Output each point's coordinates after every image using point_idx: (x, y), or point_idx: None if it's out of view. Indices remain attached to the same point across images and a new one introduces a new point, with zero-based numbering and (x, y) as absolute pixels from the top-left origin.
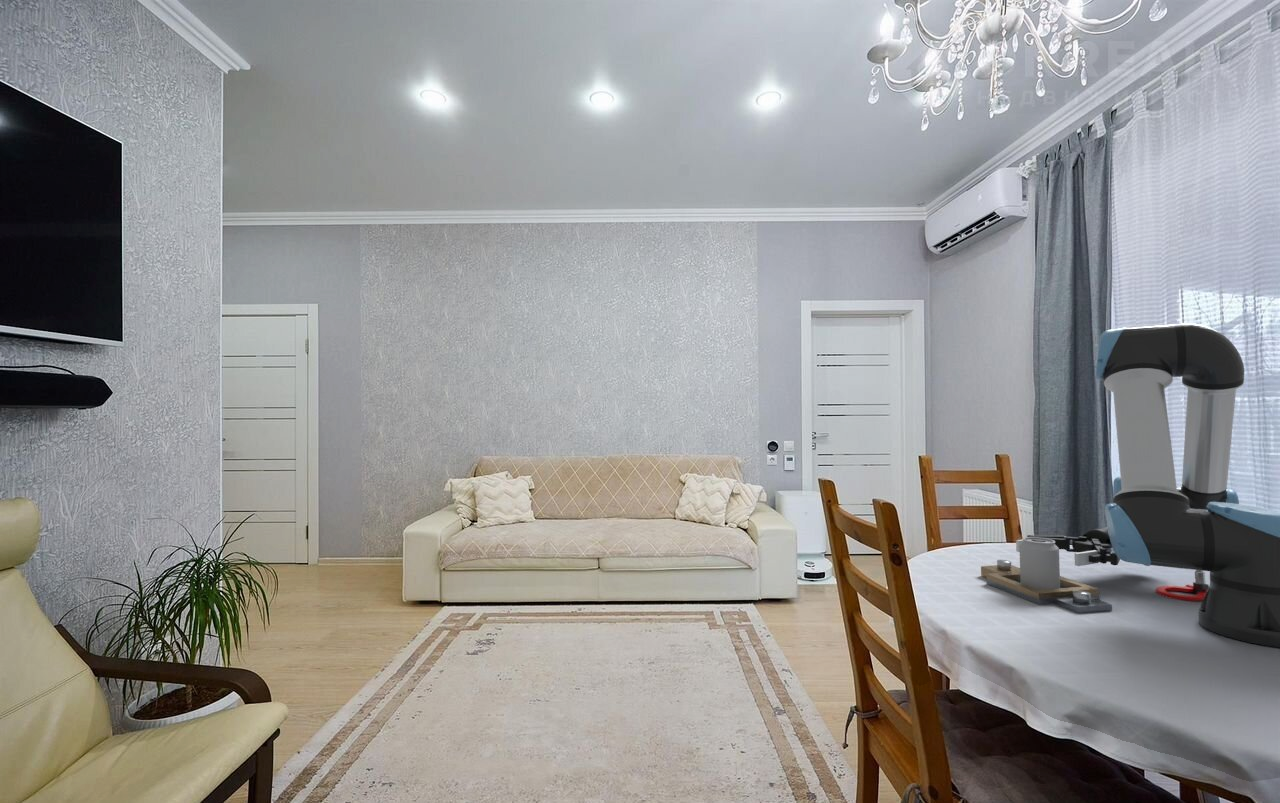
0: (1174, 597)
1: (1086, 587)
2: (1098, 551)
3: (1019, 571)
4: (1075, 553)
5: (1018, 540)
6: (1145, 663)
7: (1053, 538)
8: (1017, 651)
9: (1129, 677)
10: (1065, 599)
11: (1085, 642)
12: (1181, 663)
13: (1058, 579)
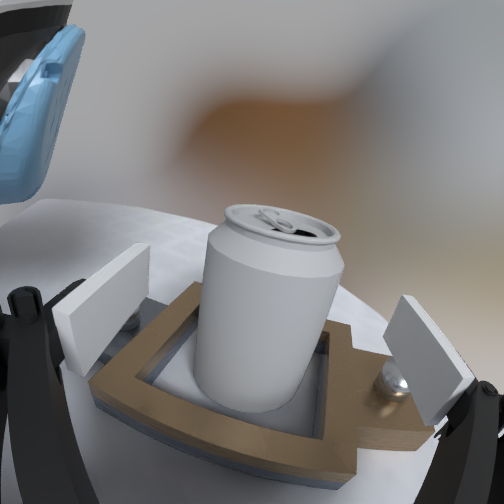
0: None
1: (122, 374)
2: (48, 350)
3: (356, 396)
4: (146, 245)
5: (408, 297)
6: (64, 228)
7: (482, 467)
8: (154, 217)
9: (81, 215)
10: (153, 312)
11: (107, 238)
12: (35, 235)
13: (196, 341)
